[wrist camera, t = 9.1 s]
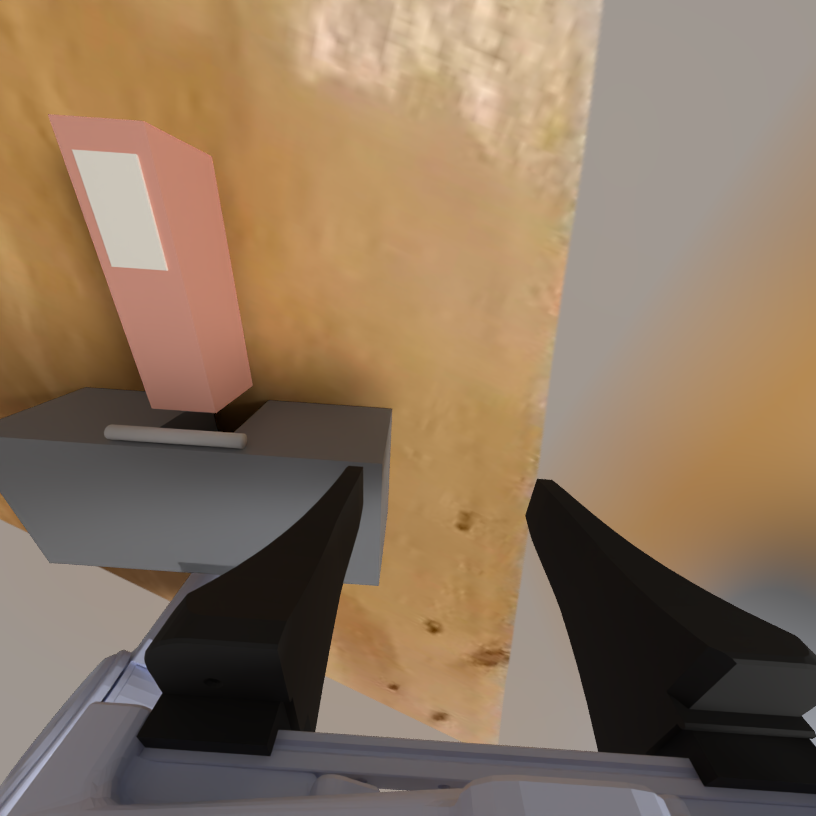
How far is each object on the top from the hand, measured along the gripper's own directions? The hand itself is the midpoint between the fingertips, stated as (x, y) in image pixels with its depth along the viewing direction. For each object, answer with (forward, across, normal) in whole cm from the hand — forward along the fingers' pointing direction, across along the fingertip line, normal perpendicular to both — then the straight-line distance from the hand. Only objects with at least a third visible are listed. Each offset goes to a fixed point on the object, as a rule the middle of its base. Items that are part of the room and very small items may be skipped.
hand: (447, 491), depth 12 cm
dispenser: (+9, +14, +6) cm, 18 cm away
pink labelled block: (+8, +14, -7) cm, 18 cm away
